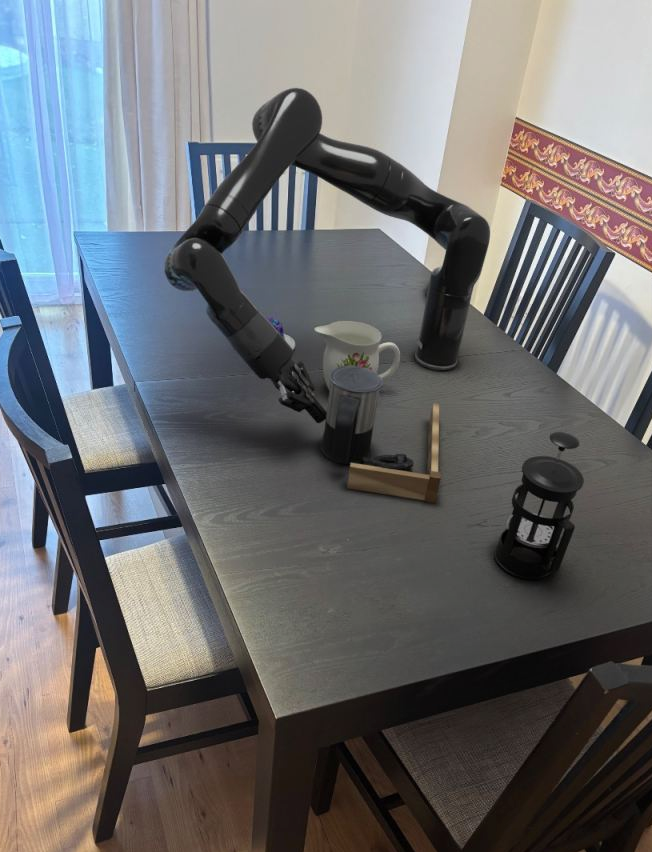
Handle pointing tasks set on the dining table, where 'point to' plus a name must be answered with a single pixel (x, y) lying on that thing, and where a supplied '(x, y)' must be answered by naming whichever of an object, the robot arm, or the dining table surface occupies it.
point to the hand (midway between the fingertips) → (323, 419)
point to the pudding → (279, 328)
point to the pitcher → (354, 348)
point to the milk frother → (354, 418)
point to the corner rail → (403, 473)
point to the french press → (535, 530)
